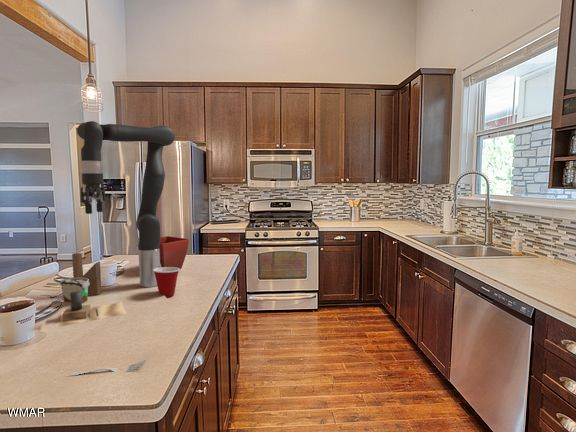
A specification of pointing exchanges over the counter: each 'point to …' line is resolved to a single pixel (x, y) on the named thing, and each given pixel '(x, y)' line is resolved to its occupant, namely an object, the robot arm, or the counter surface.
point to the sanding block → (76, 308)
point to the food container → (75, 288)
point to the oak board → (98, 313)
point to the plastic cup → (166, 280)
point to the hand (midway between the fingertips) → (94, 212)
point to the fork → (114, 368)
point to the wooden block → (87, 274)
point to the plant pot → (173, 251)
